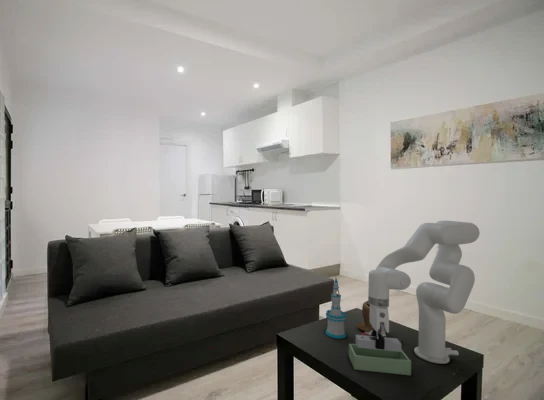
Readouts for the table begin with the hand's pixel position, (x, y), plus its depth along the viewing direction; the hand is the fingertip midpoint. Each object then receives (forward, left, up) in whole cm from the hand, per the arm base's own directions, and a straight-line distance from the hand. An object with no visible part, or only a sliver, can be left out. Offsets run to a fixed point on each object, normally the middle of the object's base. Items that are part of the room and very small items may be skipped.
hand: (377, 345), depth 121 cm
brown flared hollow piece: (-8, -34, -9) cm, 36 cm away
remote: (0, 0, -1) cm, 1 cm away
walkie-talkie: (-7, -22, -9) cm, 25 cm away
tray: (0, 0, -8) cm, 8 cm away
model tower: (+12, -26, -9) cm, 30 cm away
